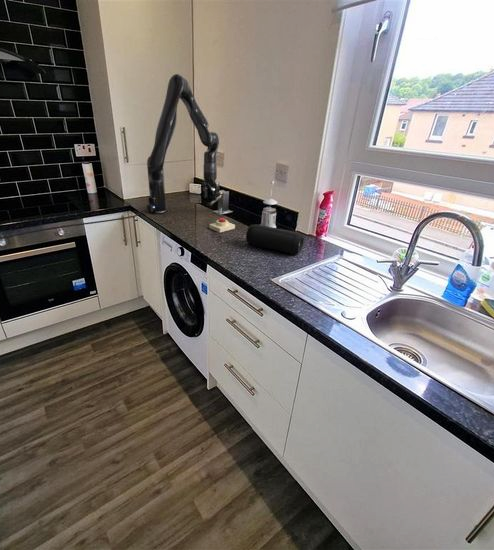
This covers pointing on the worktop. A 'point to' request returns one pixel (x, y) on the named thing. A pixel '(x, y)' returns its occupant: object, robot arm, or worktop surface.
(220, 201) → the bracket
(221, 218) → the button
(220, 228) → the control block
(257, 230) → the portable speaker
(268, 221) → the french press
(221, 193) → the lever
